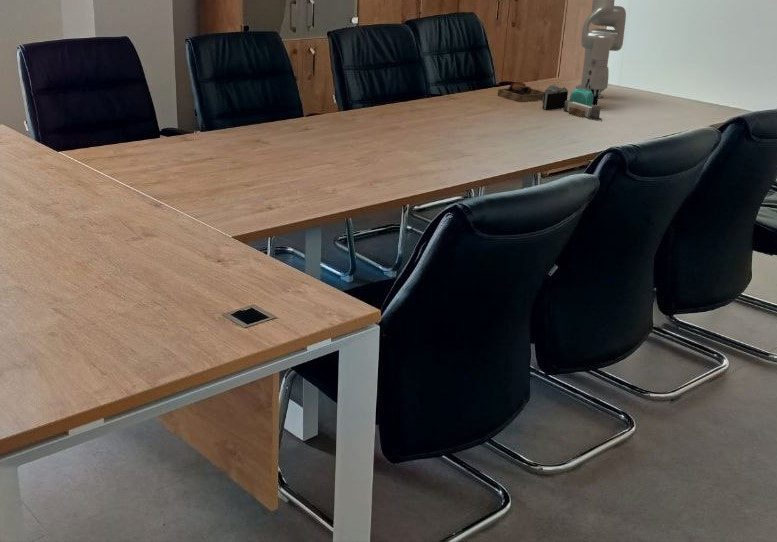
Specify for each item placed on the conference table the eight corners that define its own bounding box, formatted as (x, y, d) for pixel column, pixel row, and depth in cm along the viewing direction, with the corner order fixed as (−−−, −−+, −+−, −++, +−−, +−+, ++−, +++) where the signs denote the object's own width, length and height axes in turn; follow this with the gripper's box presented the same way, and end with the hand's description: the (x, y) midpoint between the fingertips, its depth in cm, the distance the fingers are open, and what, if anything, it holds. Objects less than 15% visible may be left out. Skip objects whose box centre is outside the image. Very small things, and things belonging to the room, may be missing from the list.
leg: (593, 116, 392) (594, 107, 390) (587, 117, 390) (588, 107, 388) (568, 109, 404) (569, 100, 402) (562, 109, 402) (563, 100, 401)
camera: (555, 104, 414) (558, 82, 410) (567, 107, 409) (570, 85, 406) (535, 107, 404) (537, 85, 401) (547, 110, 400) (550, 87, 396)
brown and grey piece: (568, 113, 396) (570, 101, 394) (579, 112, 400) (581, 100, 398) (593, 121, 385) (595, 108, 383) (604, 119, 388) (606, 107, 386)
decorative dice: (568, 108, 408) (570, 90, 405) (575, 105, 414) (578, 88, 411) (584, 111, 404) (587, 93, 401) (592, 108, 410) (594, 90, 407)
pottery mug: (503, 99, 422) (504, 82, 423) (512, 106, 430) (513, 89, 431) (527, 96, 415) (528, 79, 417) (535, 103, 423) (537, 86, 424)
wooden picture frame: (497, 95, 427) (498, 89, 426) (526, 93, 436) (527, 87, 435) (520, 102, 414) (520, 95, 413) (549, 99, 424) (550, 93, 423)
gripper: (593, 65, 399) (587, 107, 406) (616, 64, 407) (610, 105, 414) (580, 62, 404) (575, 103, 411) (604, 61, 412) (598, 101, 419)
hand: (593, 104), depth 412 cm, fingers closed
